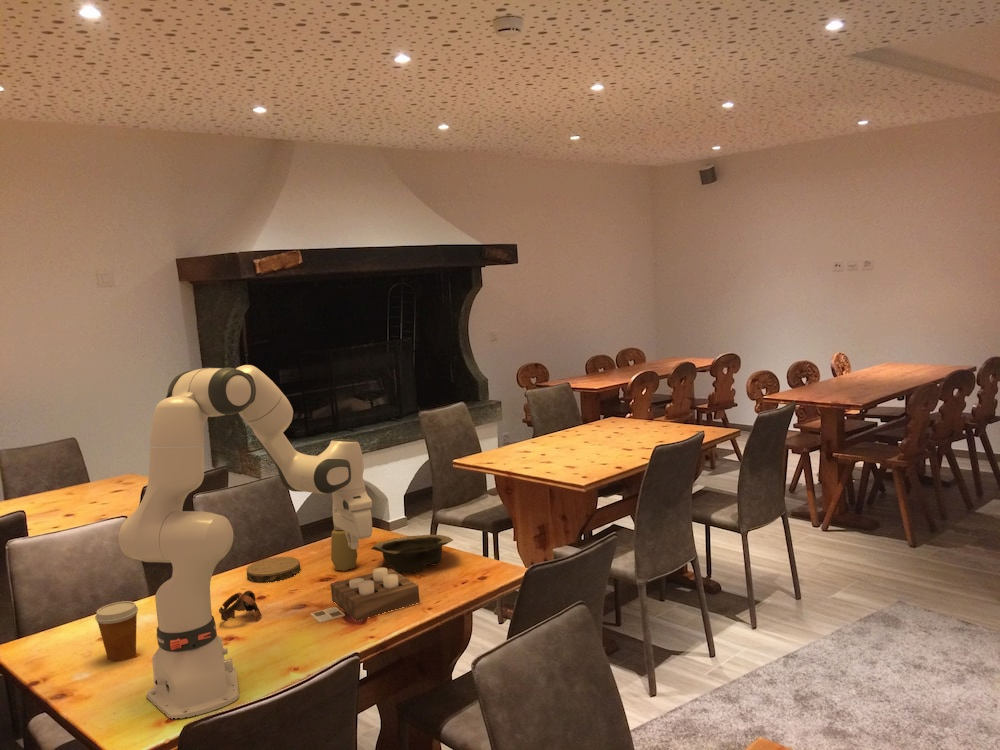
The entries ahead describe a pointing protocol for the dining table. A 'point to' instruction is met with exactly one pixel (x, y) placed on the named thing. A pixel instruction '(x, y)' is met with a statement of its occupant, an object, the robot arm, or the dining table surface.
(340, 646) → the dining table surface
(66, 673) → the dining table surface
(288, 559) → the brown wooden disc
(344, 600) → the button board
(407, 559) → the stone bowl
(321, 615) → the tile
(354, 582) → the egg
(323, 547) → the dining table surface
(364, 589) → the button front inner
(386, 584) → the button front outer
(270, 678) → the dining table surface
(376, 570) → the beige egg
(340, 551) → the squeeze bottle
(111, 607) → the disposable coffee cup
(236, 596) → the pottery mug
